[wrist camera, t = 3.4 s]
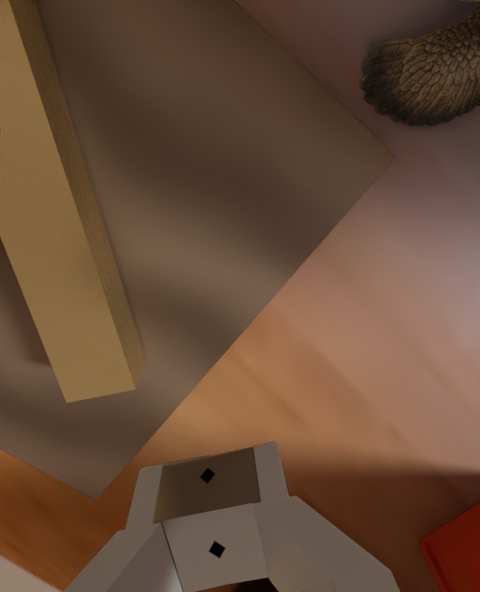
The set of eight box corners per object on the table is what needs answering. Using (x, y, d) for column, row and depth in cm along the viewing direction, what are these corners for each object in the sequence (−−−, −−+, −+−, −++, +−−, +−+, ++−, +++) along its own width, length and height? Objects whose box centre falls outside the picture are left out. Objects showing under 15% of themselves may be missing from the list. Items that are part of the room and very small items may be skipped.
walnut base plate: (-88, -294, 13) (-125, -348, 12) (382, 156, 19) (395, 156, 17) (-312, 250, 19) (-355, 258, 17) (103, 479, 24) (95, 500, 23)
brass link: (-101, -89, 14) (-286, -226, 9) (15, -115, 14) (-105, -269, 9) (74, 374, 20) (25, 450, 15) (156, 358, 20) (133, 429, 15)
